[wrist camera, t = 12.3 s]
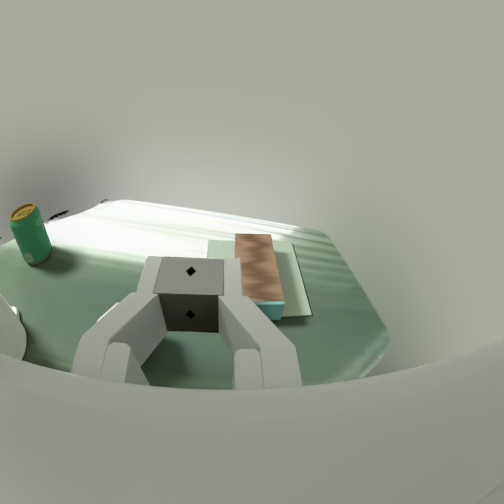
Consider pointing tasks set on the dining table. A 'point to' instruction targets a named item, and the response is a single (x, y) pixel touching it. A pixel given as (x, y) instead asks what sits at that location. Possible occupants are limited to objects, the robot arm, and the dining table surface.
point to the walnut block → (260, 273)
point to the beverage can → (30, 233)
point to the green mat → (286, 268)
